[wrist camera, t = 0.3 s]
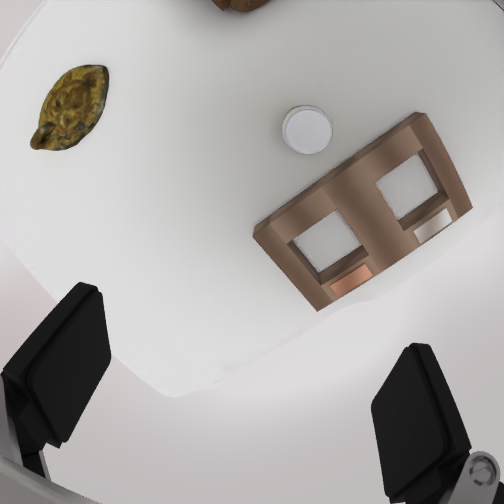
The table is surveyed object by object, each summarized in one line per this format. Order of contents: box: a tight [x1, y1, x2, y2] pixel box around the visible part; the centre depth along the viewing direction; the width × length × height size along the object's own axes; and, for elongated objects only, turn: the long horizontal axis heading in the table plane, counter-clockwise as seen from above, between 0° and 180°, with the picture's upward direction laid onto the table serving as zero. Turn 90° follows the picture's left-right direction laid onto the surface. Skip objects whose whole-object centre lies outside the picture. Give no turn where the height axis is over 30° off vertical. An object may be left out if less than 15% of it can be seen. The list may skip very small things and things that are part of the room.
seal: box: [30, 65, 109, 151], centre depth 33 cm, size 9×5×15 cm
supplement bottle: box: [281, 105, 332, 154], centre depth 29 cm, size 5×5×8 cm
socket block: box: [252, 112, 473, 312], centre depth 35 cm, size 24×13×3 cm, turn 130°
